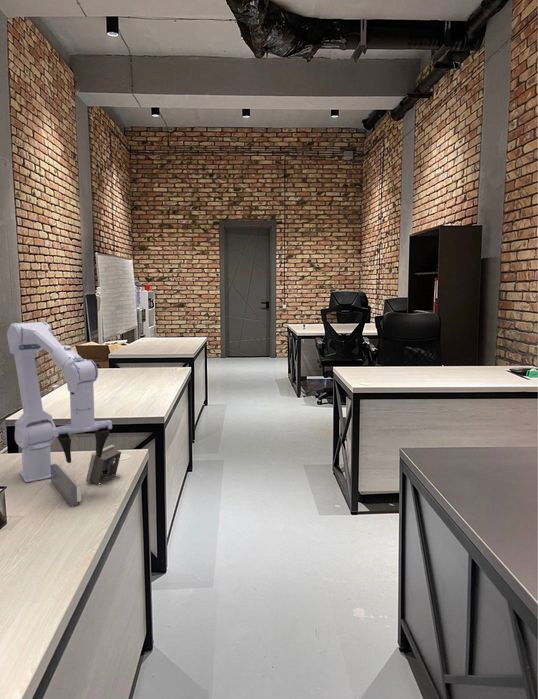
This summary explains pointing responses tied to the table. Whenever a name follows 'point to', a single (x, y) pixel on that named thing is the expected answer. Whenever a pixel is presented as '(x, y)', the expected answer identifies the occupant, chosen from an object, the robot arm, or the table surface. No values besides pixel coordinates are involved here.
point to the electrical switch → (103, 465)
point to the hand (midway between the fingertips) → (83, 459)
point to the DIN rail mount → (65, 485)
